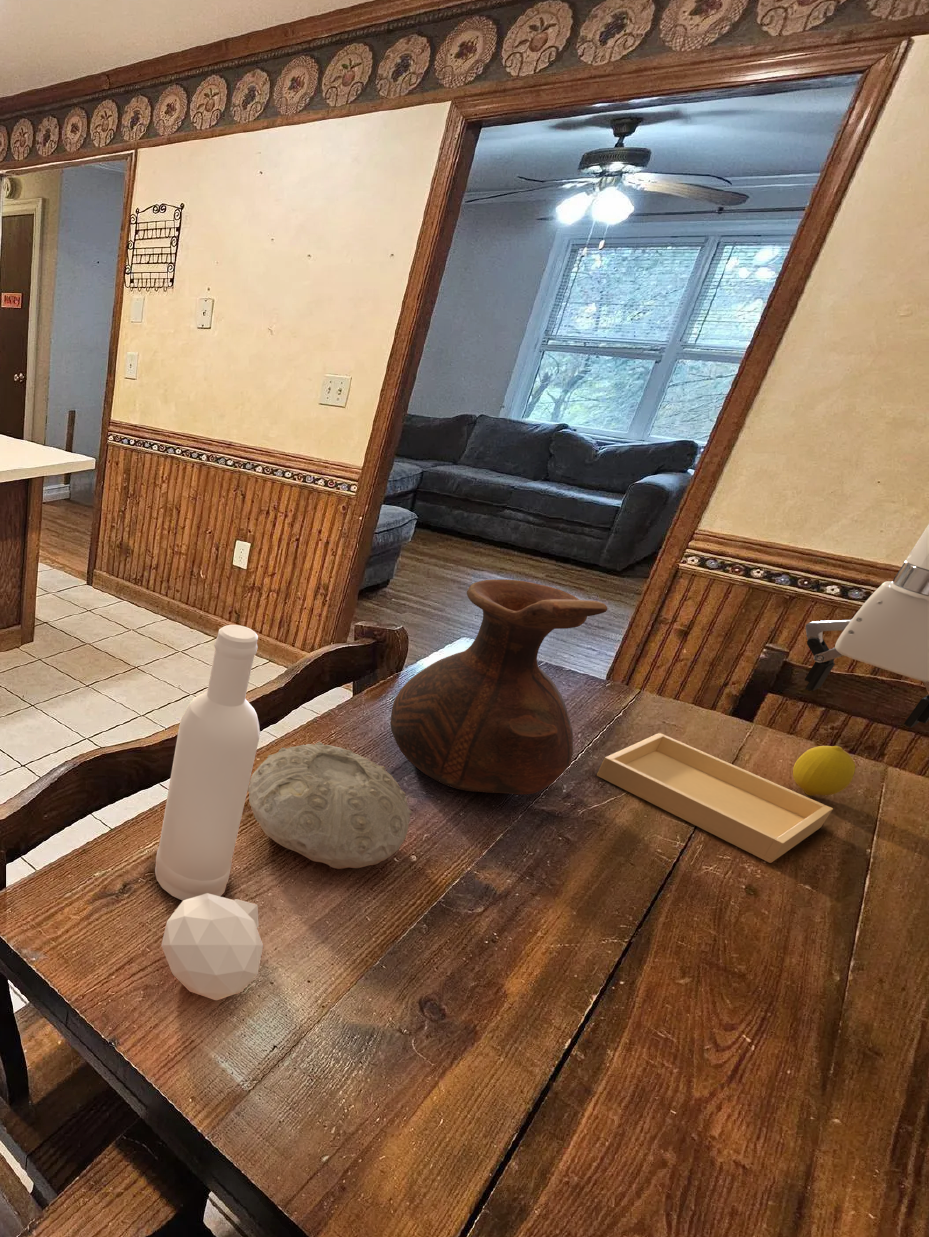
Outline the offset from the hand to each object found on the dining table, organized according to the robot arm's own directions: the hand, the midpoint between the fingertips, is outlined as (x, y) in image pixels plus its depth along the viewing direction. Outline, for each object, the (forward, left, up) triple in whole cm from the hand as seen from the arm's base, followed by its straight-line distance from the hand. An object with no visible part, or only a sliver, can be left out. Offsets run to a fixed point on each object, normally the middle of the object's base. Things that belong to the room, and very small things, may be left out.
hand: (859, 705), depth 98 cm
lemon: (0, 0, -14) cm, 14 cm away
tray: (+6, +16, -14) cm, 22 cm away
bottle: (+25, +90, -14) cm, 94 cm away
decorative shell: (+24, +71, -14) cm, 76 cm away
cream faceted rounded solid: (+14, +96, -14) cm, 98 cm away
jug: (+25, +41, -14) cm, 50 cm away
